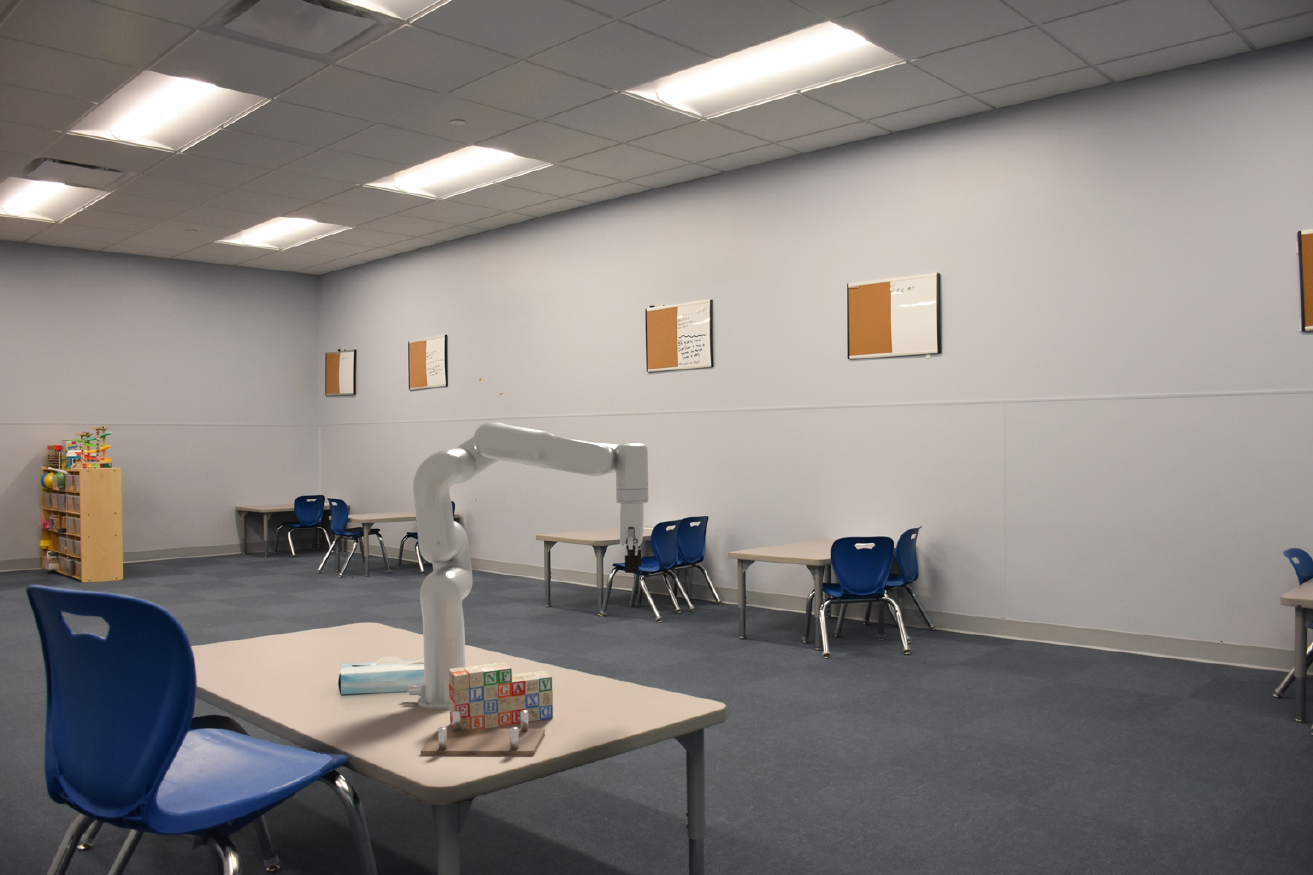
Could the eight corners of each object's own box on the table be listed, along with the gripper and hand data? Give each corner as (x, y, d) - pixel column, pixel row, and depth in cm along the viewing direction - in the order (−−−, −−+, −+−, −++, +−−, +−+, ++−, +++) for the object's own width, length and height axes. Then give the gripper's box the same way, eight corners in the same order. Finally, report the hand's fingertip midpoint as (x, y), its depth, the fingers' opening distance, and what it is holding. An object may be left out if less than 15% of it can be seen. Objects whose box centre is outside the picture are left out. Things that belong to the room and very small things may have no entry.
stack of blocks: (545, 711, 207) (544, 656, 206) (553, 719, 201) (552, 662, 201) (449, 724, 198) (448, 667, 198) (455, 733, 192) (454, 674, 192)
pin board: (420, 758, 177) (420, 730, 177) (439, 735, 190) (438, 709, 190) (534, 758, 176) (533, 730, 176) (544, 735, 189) (544, 709, 189)
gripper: (619, 493, 224) (620, 563, 224) (613, 499, 206) (614, 575, 206) (650, 493, 223) (651, 563, 223) (646, 498, 206) (647, 575, 206)
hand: (633, 569), depth 215 cm, fingers open, 9 cm apart
